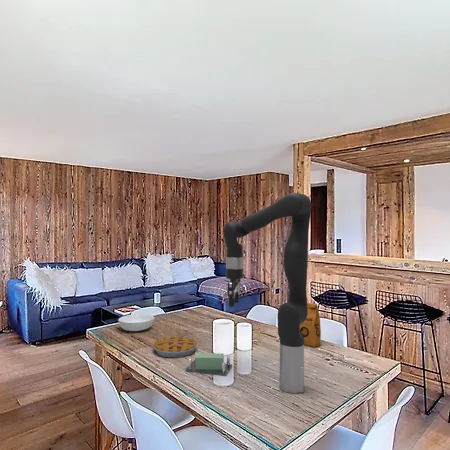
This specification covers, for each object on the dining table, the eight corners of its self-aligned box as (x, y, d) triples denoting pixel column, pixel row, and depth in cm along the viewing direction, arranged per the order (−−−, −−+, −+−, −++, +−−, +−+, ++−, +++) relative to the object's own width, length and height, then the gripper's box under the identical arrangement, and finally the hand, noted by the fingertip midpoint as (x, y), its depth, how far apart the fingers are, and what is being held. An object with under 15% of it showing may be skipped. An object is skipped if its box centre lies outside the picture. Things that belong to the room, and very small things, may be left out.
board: (223, 364, 158) (223, 353, 158) (223, 369, 152) (223, 358, 152) (196, 364, 158) (196, 353, 158) (195, 369, 152) (195, 357, 153)
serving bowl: (138, 322, 229) (138, 312, 229) (161, 328, 216) (161, 317, 216) (110, 330, 212) (111, 318, 212) (134, 336, 199) (134, 324, 199)
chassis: (232, 366, 158) (232, 355, 158) (226, 376, 148) (226, 364, 148) (194, 362, 163) (194, 351, 163) (185, 371, 152) (185, 360, 152)
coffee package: (313, 349, 182) (314, 306, 182) (293, 343, 191) (293, 302, 191) (323, 345, 189) (324, 303, 189) (304, 339, 198) (304, 299, 198)
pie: (153, 360, 165) (153, 349, 165) (153, 345, 186) (153, 335, 186) (200, 357, 169) (200, 347, 169) (194, 343, 190) (194, 333, 190)
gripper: (239, 269, 148) (238, 308, 148) (246, 266, 162) (245, 301, 162) (221, 268, 150) (221, 307, 150) (230, 265, 164) (229, 300, 164)
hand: (234, 304), depth 156 cm, fingers open, 8 cm apart
